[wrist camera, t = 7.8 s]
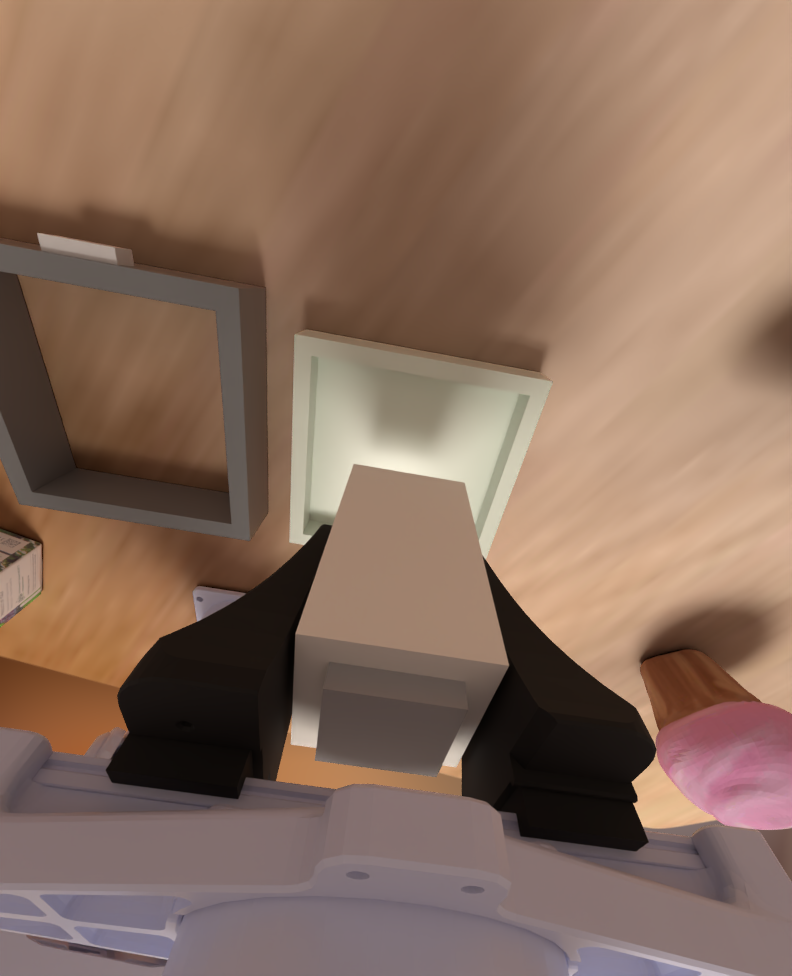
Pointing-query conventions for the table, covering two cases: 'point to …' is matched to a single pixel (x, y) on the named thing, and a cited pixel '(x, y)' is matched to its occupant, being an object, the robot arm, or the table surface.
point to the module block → (397, 629)
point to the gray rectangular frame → (36, 420)
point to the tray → (405, 424)
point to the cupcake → (721, 741)
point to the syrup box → (18, 573)
